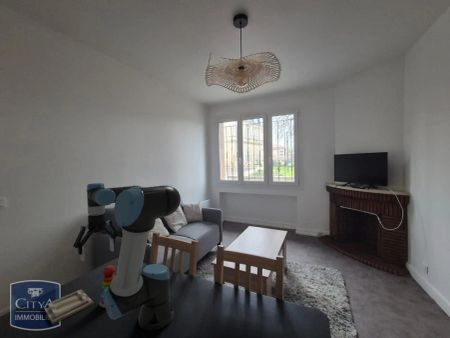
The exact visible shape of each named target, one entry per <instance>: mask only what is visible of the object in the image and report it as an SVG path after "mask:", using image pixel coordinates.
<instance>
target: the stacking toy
mask: <svg viewBox="0 0 450 338" xmlns="http://www.w3.org/2000/svg"><path fill="white" fill-rule="evenodd" d="M102 271H103V272H102V274H103V278H102V279H103V280H102V285H101V291H100V292H101V293H100V298H99V302H98V305H99V306H100V307H101V308H105V304H104V300H103V291H104V290H105V289H106V288H109V287H110V285H111V281H112V279H113V278H114V277H115V276H116V275H115V271H116V269H115V266H114V265H112V264H111V265H107V266H105V267H104V268H103V270H102ZM105 309H106V308H105Z"/></svg>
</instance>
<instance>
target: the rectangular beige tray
mask: <svg viewBox="0 0 450 338" xmlns="http://www.w3.org/2000/svg"><path fill="white" fill-rule="evenodd" d="M47 304H48V306H49V307H48V308H46V307H44V305H42V308H43V307H44V309H45V311H46V313H47V314H46V313H45V314H46V316H47V315H48V316H47V318H48V317H49V318H48V319H49V322H50V323H51V324H52V326H53V325H55V324H56V323H59V322H60V321H63V320H65V319H66V318H68V317H71V316H73V315H74V314H77V313H79V312H81V311H83V310H85V309H87V308H88V307H91V306H92V305H94V301H93V300H92V299H91V298H90V297H89V296H88V295H87V293H86V292H85V291H84V290H83V289H78V290H76V291H74V292H71V293H69V294H66V295H64V296H61V297H60V298H57V299H54V300H53V301H50V302H48V303H47ZM44 309H43V310H44ZM45 311H44V312H45Z"/></svg>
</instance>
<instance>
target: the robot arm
mask: <svg viewBox="0 0 450 338" xmlns="http://www.w3.org/2000/svg"><path fill="white" fill-rule="evenodd" d="M86 195H87V196H86V197H87V198H86V199H87V214H88V215H87V225H86V226H85V225H81V226H80V230H79V233H78V234H77V237H76V239H75V241H74V242H73V245H72V247H74V249H77V251H78V252H77V253H78V255H79V256H80V261H81V262H85V261H86V260H85V258H86V256H85V246H84V245H86V242H88V240H89V239H90V238H91V236H92V235H93V234H97V233H100V232H102V231H103V232H104V233H106V235H108V237H109V251H111V252H114V251H115V250H114V248H115V247H114V245H115V244H116V239H117V237H118V236H119V235H120V234H119V233H118V231H117V229H116V227H115V226H114V225H113V221H112V220H110V219H107V221H106V206H109V205H112V204H114V208H113V210H114V219H115V221H116V223H117V225H118V226H119V227H120V228H121V230H122V237H121V243H120V250H119V256H118V263H117V269H116V275H115V277H114V278H113V279H112V281H111V285H110V287H109V288H106V289H105V290H104V291H103V300H104V304H105V311H106V313H107V315H108V317H109V319H111V320H113V321H114V320H115V321H116V320H117V319H120V318H122V317H124V316H125V315H127V314H129V313H131V312H132V311H134V310H136V309H138V308H140V311H139V314H138V325H139V328H141V329H143V330H145V331H149V332H151V331H159V330H160V329H163V328H165V327H166V326H167V325H169V324H170V323H172V320H173V318H174V315H175V313H174V312H175V311H174V310H175V309H174V307H173V303H172V301H171V298H170V296H171V295H170V291H171V290H170V289H171V288H170V286H171V285H170V278H171V275H170V270H169V268H168V266H166V265H165V264H162V263H161V264H160V263H151V264H147V265H145V266H144V267H143V263H144V258H145V255H146V249H147V243H148V237H149V234H150V232H151V231H152V230H153V229H154V228H155V226H156V222H157V221H156V220H158V219H161V218H166V217H168V216H171V215H172V214H174V213H175V212H176V211H177V210H178V209H179V207H180V205H181V201H182V200H181V194H180V192H179V190H178V189H177V188H175V187H174V186H171V185H157V186H147V187H146V186H141V185H128V186H118V187H108V188H106V187H105V184H104V183H103V182H95V183H94V182H93V183H89V184H87V186H86ZM106 226H108V227H109V228H110V230H109V229H107V227H106ZM87 229H88V231H87ZM86 231H87V232H86ZM85 233H86V234H85Z"/></svg>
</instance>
